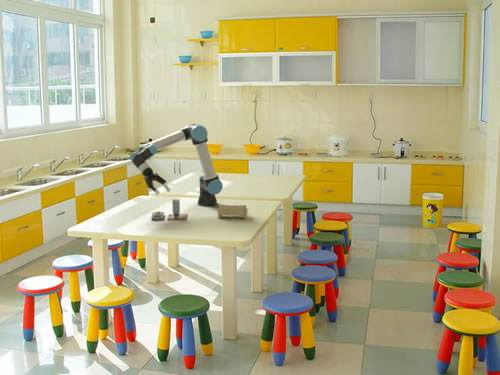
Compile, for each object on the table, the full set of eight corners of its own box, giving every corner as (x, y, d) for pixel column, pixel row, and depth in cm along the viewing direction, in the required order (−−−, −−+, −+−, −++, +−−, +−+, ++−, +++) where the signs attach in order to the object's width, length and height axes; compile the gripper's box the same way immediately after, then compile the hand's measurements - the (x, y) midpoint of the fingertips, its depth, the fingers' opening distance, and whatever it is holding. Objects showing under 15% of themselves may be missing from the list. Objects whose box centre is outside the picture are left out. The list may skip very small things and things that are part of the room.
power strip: (152, 216, 464) (152, 211, 464) (164, 216, 465) (163, 210, 465) (151, 222, 447) (151, 216, 446) (163, 221, 448) (163, 216, 447)
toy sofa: (248, 216, 460) (248, 202, 458) (247, 219, 451) (246, 205, 449) (219, 216, 462) (219, 202, 460) (217, 219, 453) (217, 204, 452)
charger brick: (179, 215, 459) (179, 199, 457) (179, 216, 454) (179, 200, 452) (173, 215, 459) (172, 199, 457) (172, 217, 454) (172, 200, 452)
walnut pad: (187, 215, 465) (186, 213, 464) (186, 220, 449) (186, 218, 449) (168, 215, 464) (168, 214, 464) (167, 220, 448) (167, 219, 448)
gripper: (152, 171, 474) (170, 192, 470) (132, 176, 452) (150, 198, 449) (158, 164, 471) (176, 186, 467) (138, 169, 449) (157, 191, 445)
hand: (164, 192), depth 458 cm, fingers open, 13 cm apart
